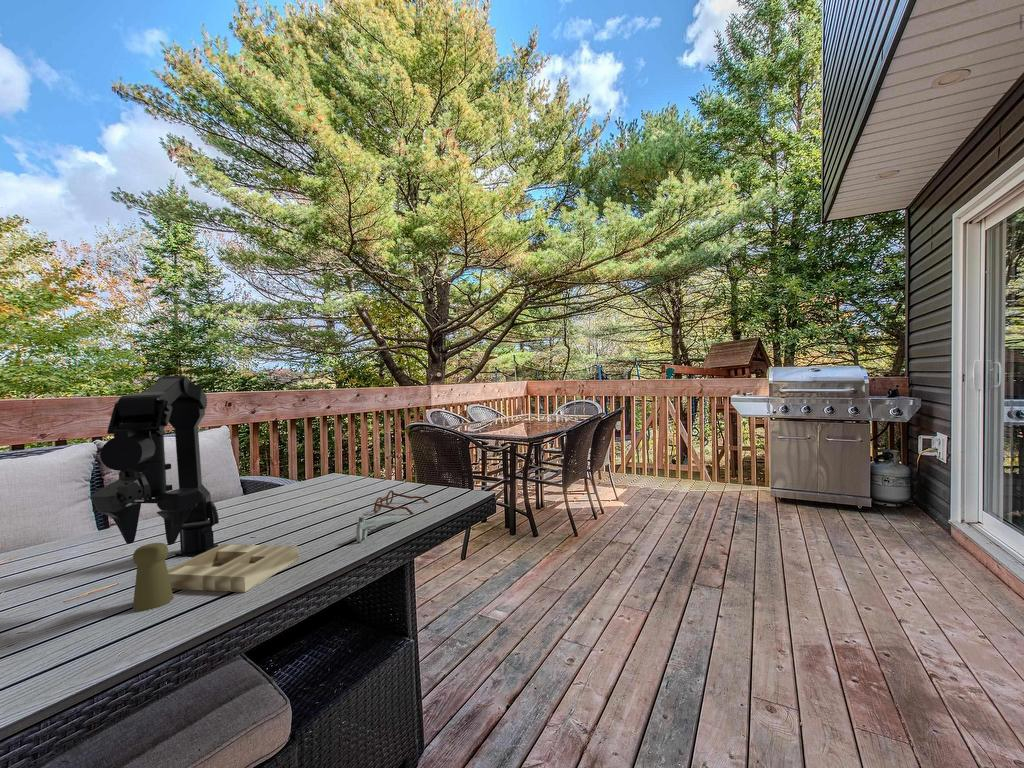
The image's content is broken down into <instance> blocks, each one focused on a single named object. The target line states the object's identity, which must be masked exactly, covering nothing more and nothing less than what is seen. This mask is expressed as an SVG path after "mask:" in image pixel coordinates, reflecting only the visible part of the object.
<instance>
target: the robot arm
mask: <svg viewBox="0 0 1024 768" xmlns="http://www.w3.org/2000/svg"><path fill="white" fill-rule="evenodd" d="M207 399H208V398H207V396H206V393H205V391H204V390H203V388H202V387H201V386H199V385H197V384H195V383H194V382H191V381H190V379H189V378H188V377H187V376H184V375H167V376H165V375H164V376H162V377H158V379H157V382H155V383H153V384H152V385H151V386H149V388H147V389H145V390H144V391H143V392H136V393H130V394H124V395H122V396H120V397H119V398H118V400H117V401H116V402H115V403H114V406H113V409H112V413H111V416H110V421H109V424H108V426H107V427H108V428H107V434H108V435H113V438H111V439H108V441H106V442H105V443H104V444H103V446H102V447H101V450H100V452H99V457H100V461H101V463H102V464H103V465H104V467H107V468H108V469H110V470H113V471H119V473H118V479H117V480H115V481H113V482H110V483H108V484H107V485H105V486H103V487H102V488H100V489H98V490H97V491H95V492H93V493H92V494H91V495H90V496H89V497H90V498H91V504H92V507H91V508H92V510H97V512H98V513H99V514H103V515H106V516H107V517H109V518H111V519H112V520H113V522H115V525H116V527H117V528H118V530H119V532H120V534H121V536H122V537H123V540H124V541H125V543H126V544H127V545H130V544H132V543H134V542H135V540H136V536H137V531H138V525H139V519H140V514H141V507H142V504H156V506H157V508H158V509H159V511H156V514H157V515H158V516H159V517H161V518H162V519H163V520H164V521H163V522H164V530H165V531H164V532H165V538H166V542H167V545H168V546H171V545H174V544H175V543H176V541H177V539H178V537H179V544H180V550H179V551H177V552H175V553H174V555H175V556H187V557H188V556H189V557H190V556H191V557H192V556H193V557H195V556H198V555H200V554H202V553H204V552H206V551H209V550H211V549H213V548H215V547H217V546H219V544H218V543H217V544H216V543H215V539H214V530H213V527H214V526H215V525H218V524H220V521H219V520H220V519H219V513H218V509H217V506H215V502H214V501H213V500H212V497H211V492H210V491H209V490H208V489H207V488H206V487H205V486H204V484H203V481H202V467H201V453H200V437H199V424H200V423H201V421H202V420H203V418H204V417H205V415H206V409H207V406H208V400H207ZM169 424H170V425H171V427H172V428H173V430H174V433H175V434H174V435H175V436H174V438H175V450H176V451H175V452H176V465H177V477H178V480H177V481H178V488H177V489H174V490H173V484H167V472H166V471H167V470H171V469H172V463H166V454H165V453H166V452H165V437H164V434H165V428H166V427H168V426H169Z"/></svg>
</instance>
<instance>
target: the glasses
mask: <svg viewBox="0 0 1024 768" xmlns="http://www.w3.org/2000/svg"><path fill="white" fill-rule="evenodd" d="M390 494H391V498H390V500H389V497H390ZM394 496H395V497H396V496H397V497H402V498H407V499H410V500H411V499H420V500H421V501H423V502H424V503H425V504H427V503H430V502H429V500H427V499H425V498H424V497H422V496H419V495H417V496H416V495H415V496H410V495H406V494H401V493H396V492H395V491H394V490H393V489H392V490H389V491H388V493H387V495H386V496H383V497H380V496H378V497H377V499H376V500H375V502H374V505H373V512H374V513H375V514H377V513H378V511H379V512H380V510H381V509H382V508H387V509H391V510H393V511H395V510H401V509H402V510H405V511H407V512H408V513H409V514H410V515H415V513H414V512H413V511H412V510H411V509H410V508H408V507H407V506H396V507H395V506H390V505H391V504H392V502H393V501H394ZM379 501H380V503H378V502H379ZM383 501H385V503H386V504H383ZM390 503H391V504H390ZM377 507H378V509H377Z"/></svg>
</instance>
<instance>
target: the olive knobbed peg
mask: <svg viewBox="0 0 1024 768" xmlns="http://www.w3.org/2000/svg"><path fill="white" fill-rule="evenodd" d="M132 554H133V555H132V561H133V563H134V565H136V575H135V586H134V592H133V593H134V594H133V602H132V610H133V609H134V610H133V611H135V610H137V611H136V612H145V611H144V610H146V611H150V610H149V609H151V610H154V609H153V608H155V609H157V608H156V607H158V608H161V607H163V606H166V605H167V604H169V603H171V602H172V601H173V600H174V594H173V589H171V584H170V580H169V575H168V571H167V569H168V567H167V562H166V559H167V557H168V554H169V548H168V546H167V545H166V544H165V543H163V542H152V543H148V544H145V545H142V546H140V547H138V548H136V549H135V550H134V552H133V553H132ZM171 600H172V601H171ZM170 601H171V602H170ZM168 602H169V603H168ZM165 604H166V605H165ZM160 606H161V607H160Z"/></svg>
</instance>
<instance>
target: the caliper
mask: <svg viewBox="0 0 1024 768" xmlns="http://www.w3.org/2000/svg"><path fill="white" fill-rule="evenodd" d="M399 519H400V520H401V519H403V516H401V515H393V516H387V517H383V518H378V519H377V518H371V519H366V516H361V517H358V521H357V522H356V528H355V529H356V530H355V532H356V533H355V534H356V536H355V537H356V543H362V540H365V541H366V540H367V536H368V531H373V530H376V527H377V526H383V525H386V524H391V523H397V522H398V521H400V520H399Z"/></svg>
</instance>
